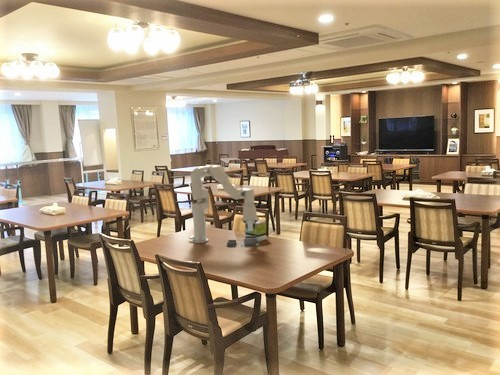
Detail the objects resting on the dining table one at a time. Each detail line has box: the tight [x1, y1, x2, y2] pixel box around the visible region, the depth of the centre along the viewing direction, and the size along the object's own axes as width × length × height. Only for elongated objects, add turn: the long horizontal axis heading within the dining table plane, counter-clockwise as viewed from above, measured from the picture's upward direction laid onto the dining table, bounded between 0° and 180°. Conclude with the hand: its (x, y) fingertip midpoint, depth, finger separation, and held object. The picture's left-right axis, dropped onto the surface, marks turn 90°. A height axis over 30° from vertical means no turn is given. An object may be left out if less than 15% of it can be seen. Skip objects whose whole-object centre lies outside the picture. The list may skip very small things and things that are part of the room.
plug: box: [247, 220, 253, 231], centre depth 334 cm, size 4×4×9 cm
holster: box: [225, 239, 238, 248], centre depth 335 cm, size 8×9×4 cm
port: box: [240, 235, 261, 248], centre depth 336 cm, size 14×12×6 cm
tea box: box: [244, 219, 267, 242], centre depth 353 cm, size 15×10×15 cm, turn 43°
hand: (250, 228), depth 335 cm, fingers closed on plug, 4 cm apart
